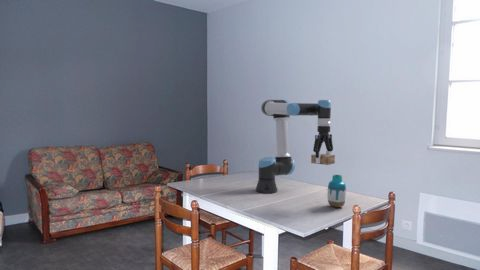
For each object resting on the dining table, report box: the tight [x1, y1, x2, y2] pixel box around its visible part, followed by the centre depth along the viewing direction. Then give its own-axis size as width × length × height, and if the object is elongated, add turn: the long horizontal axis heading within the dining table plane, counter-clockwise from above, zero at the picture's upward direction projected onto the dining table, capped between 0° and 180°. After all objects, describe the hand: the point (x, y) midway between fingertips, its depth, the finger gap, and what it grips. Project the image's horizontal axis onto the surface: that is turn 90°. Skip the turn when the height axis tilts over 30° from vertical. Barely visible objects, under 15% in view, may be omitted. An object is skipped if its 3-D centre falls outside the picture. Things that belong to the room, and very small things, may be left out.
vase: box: [327, 174, 347, 208], centre depth 217 cm, size 11×11×19 cm
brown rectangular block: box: [310, 153, 336, 166], centre depth 219 cm, size 11×9×5 cm
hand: (323, 162), depth 219 cm, fingers closed on brown rectangular block, 9 cm apart
